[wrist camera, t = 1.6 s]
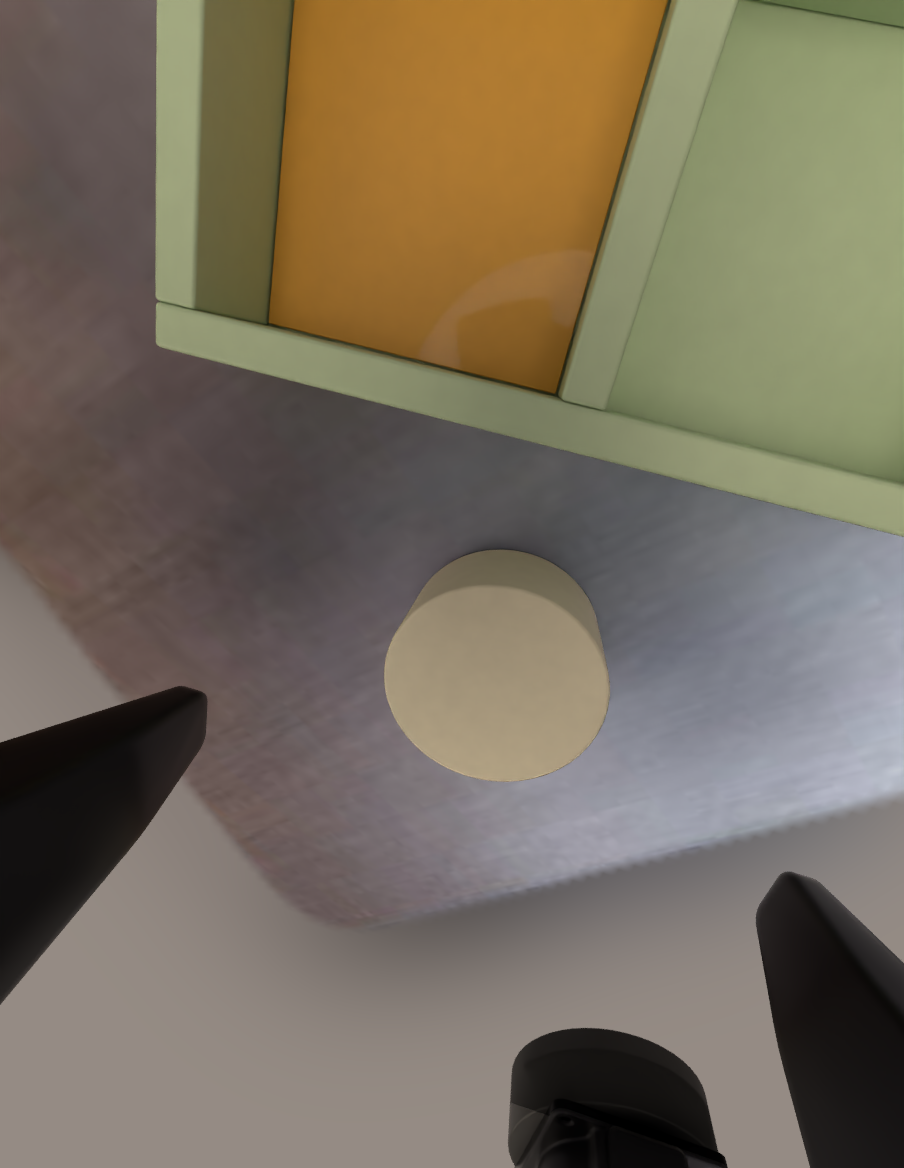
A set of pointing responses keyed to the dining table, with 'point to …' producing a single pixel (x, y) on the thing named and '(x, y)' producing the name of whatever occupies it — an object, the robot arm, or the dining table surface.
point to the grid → (556, 224)
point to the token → (499, 668)
